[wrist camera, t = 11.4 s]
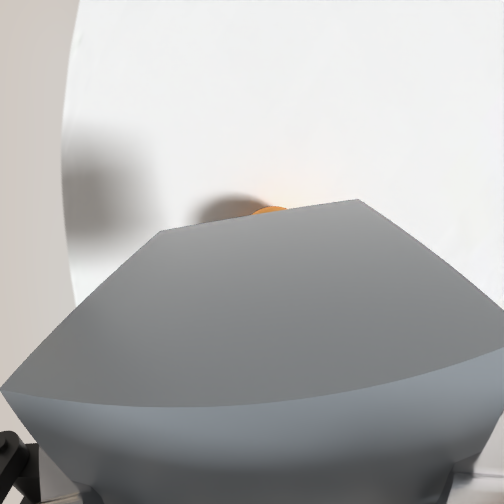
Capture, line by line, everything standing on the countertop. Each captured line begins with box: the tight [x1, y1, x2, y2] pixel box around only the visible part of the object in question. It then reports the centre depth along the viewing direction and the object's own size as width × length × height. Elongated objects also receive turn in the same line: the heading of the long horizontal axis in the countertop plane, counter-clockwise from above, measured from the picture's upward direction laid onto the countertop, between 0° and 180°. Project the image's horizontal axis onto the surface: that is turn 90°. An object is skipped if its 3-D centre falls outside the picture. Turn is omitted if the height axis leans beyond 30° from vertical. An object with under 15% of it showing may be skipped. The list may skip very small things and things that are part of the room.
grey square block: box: [0, 199, 504, 504], centre depth 8 cm, size 7×7×9 cm
